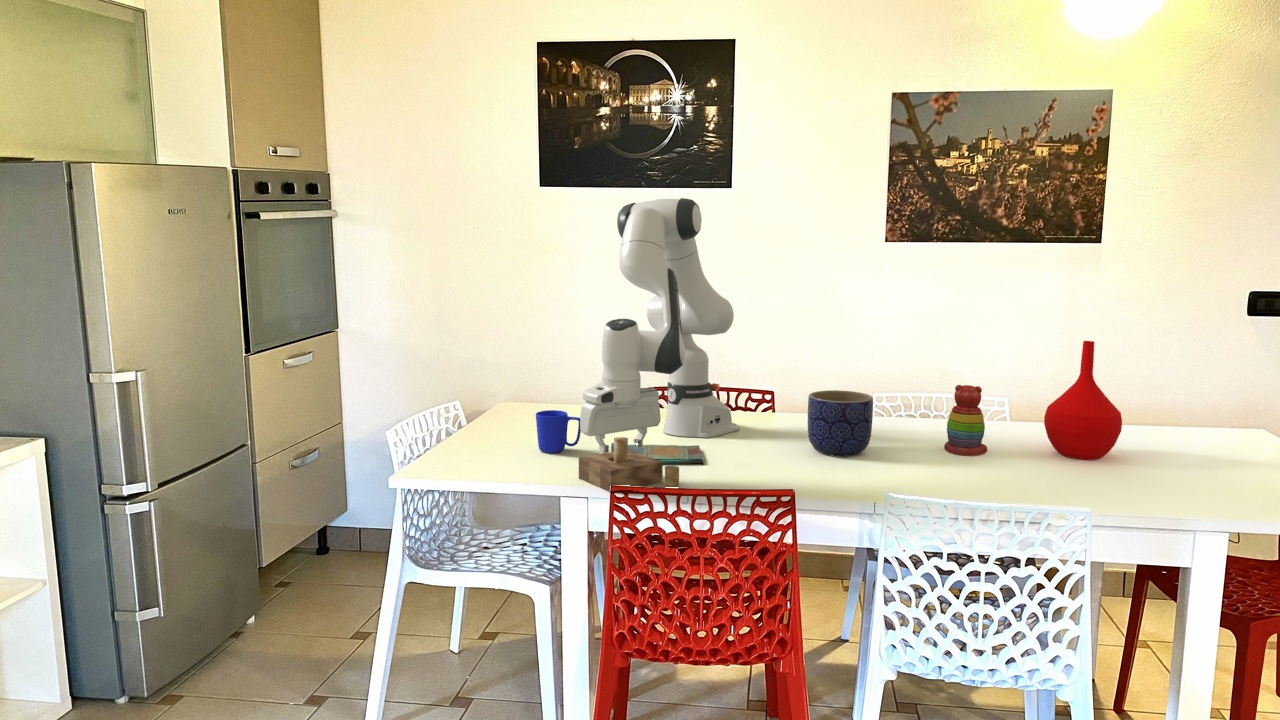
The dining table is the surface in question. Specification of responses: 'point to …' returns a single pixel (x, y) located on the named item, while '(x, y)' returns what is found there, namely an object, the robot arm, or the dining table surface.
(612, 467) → the hole block
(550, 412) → the mug
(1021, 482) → the dining table surface
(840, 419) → the planter
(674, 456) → the dish towel
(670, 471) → the short dowel
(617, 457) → the long dowel
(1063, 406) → the vase
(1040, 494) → the dining table surface
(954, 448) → the stacking bear
